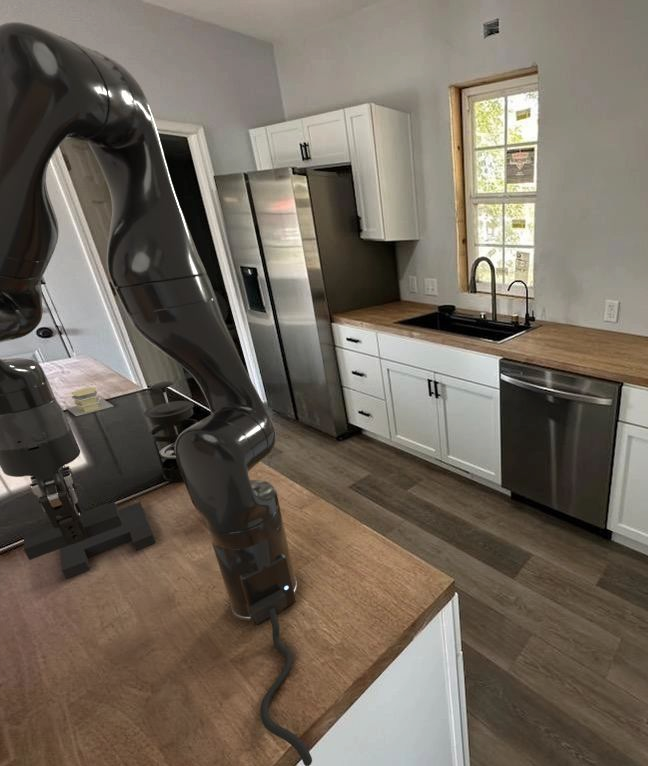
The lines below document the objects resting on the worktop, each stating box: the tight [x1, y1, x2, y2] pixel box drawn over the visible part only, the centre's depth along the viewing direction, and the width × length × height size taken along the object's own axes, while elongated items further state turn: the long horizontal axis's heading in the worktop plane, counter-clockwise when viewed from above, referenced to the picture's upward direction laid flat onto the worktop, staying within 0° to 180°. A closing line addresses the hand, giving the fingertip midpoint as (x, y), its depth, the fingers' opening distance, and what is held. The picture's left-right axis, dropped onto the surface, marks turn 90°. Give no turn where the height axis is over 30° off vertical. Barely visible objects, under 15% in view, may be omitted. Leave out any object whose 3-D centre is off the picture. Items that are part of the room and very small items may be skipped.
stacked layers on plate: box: [66, 386, 115, 417], centre depth 131 cm, size 10×9×6 cm
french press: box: [143, 381, 199, 483], centre depth 96 cm, size 12×9×23 cm
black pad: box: [23, 501, 123, 561], centre depth 63 cm, size 10×5×2 cm, turn 137°
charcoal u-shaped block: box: [59, 501, 157, 580], centre depth 78 cm, size 14×12×2 cm
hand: (76, 531), depth 63 cm, fingers closed on black pad, 5 cm apart
